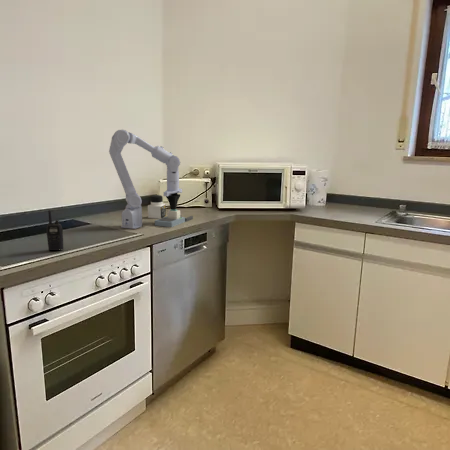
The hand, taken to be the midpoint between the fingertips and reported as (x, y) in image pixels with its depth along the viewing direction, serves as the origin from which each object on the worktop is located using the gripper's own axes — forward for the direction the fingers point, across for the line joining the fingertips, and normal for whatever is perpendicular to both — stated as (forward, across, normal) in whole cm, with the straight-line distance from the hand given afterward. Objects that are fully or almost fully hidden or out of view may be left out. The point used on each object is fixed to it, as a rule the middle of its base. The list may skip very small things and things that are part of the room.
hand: (173, 209), depth 190 cm
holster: (+7, +8, -1) cm, 11 cm away
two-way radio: (+7, -57, +17) cm, 60 cm away
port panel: (+7, -3, 0) cm, 8 cm away
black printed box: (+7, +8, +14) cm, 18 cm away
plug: (+7, 0, 0) cm, 7 cm away
